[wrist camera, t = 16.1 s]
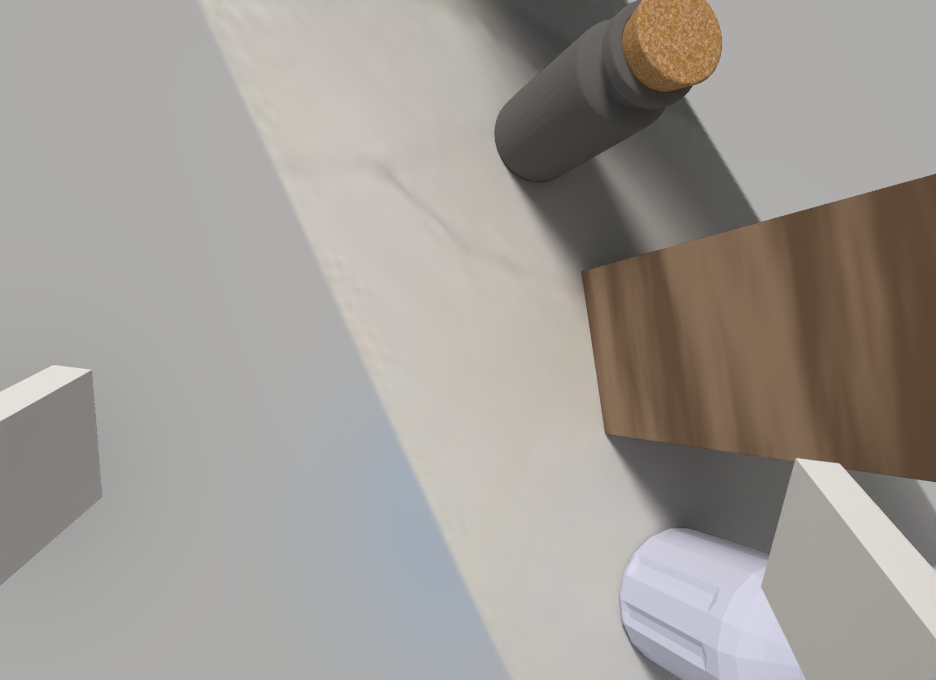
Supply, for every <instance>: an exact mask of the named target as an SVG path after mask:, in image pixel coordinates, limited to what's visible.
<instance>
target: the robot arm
mask: <svg viewBox="0 0 936 680" xmlns="http://www.w3.org/2000/svg"><path fill="white" fill-rule="evenodd" d="M101 497H102V489H101V476H100V464H99V452H98V440H97V427H96V415H95V403H94V392H93V379H92V370H88V369H80V368H72V367H64V366H56V365H53V366H51V367H49V368H47V369H45V370H43V371H41V372H39V373H37V374H35V375H33V376H31V377H29V378H27V379H25V380H23V381H21V382H19V383H17V384H15V385H13V386H11V387H9V388H7V389H5V390H3V391H1V392H0V585H1V584H2V583H4V582H5V581H6V580H7V579H8V578H9V577H10V576H11V575H13V574H14V573H15V572H16V571H17V570H19V569H20V568H21V567H22V566H23V565H24V564H25V563H27V562H28V561H29V560H30V559H31V558H32V557H34V556H35V555H36V554H37V553H38V552H39V551H40V550H41V549H43V548H44V547H45V546H46V545H47V544H48V543H49V542H51V541H52V540H53V539H54V538H55V537H57V536H58V535H59V534H60V533H61V532H62V531H63V530H65V529H66V528H67V527H68V526H69V525H70V524H71V523H73V522H74V521H75V520H76V519H77V518H78V517H80V516H81V515H82V514H83V513H84V512H85V511H86V510H88V509H89V508H90V507H91V506H92V505H93V504H95V502H97V501H98V500H99V499H100V498H101ZM761 588H762V590H763V592H764V594H765V596H766V598H767V600H768V602H769V604H770V607H771V609H772V611H773V613H774V615H775V617H776V619H777V621H778V623H779V625H780V627H781V629H782V631H783V633H784V635H785V637H786V639H787V641H788V644H789V646H790V648H791V650H792V652H793V654H794V656H795V658H796V660H797V662H798V664H799V666H800V668H801V670H802V672H803V674H804V676H805V679H806V680H936V571H935V570H934V569H933V568H932V567H931V566H930V564H929V563H928V562H927V561H926V560H925V559H924V558H923V557H922V556H921V554H920V553H919V552H918V551H917V550H916V549H915V548H914V547H913V545H912V544H911V543H910V542H909V541H908V540H907V539H906V538H905V536H904V535H903V534H902V533H901V532H900V531H899V530H898V529H897V527H896V526H895V525H894V524H893V523H892V522H891V521H890V520H889V518H888V517H887V516H886V515H885V514H884V513H883V512H882V511H881V510H880V508H879V507H878V506H877V505H876V504H875V503H874V502H873V501H872V499H871V498H870V497H869V496H868V495H867V494H866V493H865V492H864V490H863V489H862V488H861V487H860V486H859V485H858V484H857V483H856V481H855V480H854V479H853V478H852V477H851V476H850V475H849V474H848V472H847V471H846V470H845V469H844V468H843V467H842V466H841V465H840V464H839V463H831V462H823V461H815V460H807V459H799V458H796V459H795V463H794V466H793V470H792V474H791V477H790V481H789V485H788V488H787V492H786V496H785V500H784V503H783V507H782V511H781V514H780V518H779V522H778V525H777V529H776V533H775V536H774V540H773V544H772V547H771V551H770V555H769V559H768V562H767V566H766V570H765V573H764V577H763V581H762V584H761Z"/></svg>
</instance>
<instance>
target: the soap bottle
mask: <svg viewBox="0 0 936 680" xmlns="http://www.w3.org/2000/svg"><path fill="white" fill-rule="evenodd" d="M769 555H770V554H769V553H766V552H763V551H760V550H757V549H754V548H750V547H747V546H744V545H741V544H738V543H734V542H731V541H728V540H725V539H722V538H719V537H715V536H712V535H709V534H706V533H703V532H700V531H696V530H693V529H690V528H670V529H667V530H665V531H663V532H661V533H658V534H656V535H654V536H652V537H650V538H649V539H648V540H647V541H646V542H645V543H644V544H643V545H642V546H641V547H640V548H639V549H638V550H637V551H636V552H635V553H634V554H633V556H632V558H631V560H630V562H629V564H628V566H627V568H626V570H625V572H624V574H623V580H622V585H621V590H620V596H619V600H620V609H621V618H622V622H623V624H624V626H625V629H626V631H627V633H628V635H629V637H630V640H631V642H632V643H633V644H634V645H635V646H636V647H637V648H638V649H639V650H640V651H641V652H642V653H643V654H644V655H645V656H646V657H647V658H649V659H650V660H652V661H653V662H655V663H657V664H658V665H660V666H661V667H663V668H664V669H666V670H668V671H669V672H671V673H672V674H674V675H675V676H677V677H679V678H680V679H682V680H806V679H805V676H804V674H803V672H802V670H801V668H800V666H799V664H798V662H797V660H796V658H795V656H794V654H793V652H792V650H791V648H790V646H789V644H788V641H787V639H786V637H785V635H784V633H783V631H782V629H781V627H780V625H779V623H778V621H777V619H776V617H775V615H774V613H773V611H772V609H771V607H770V604H769V602H768V600H767V598H766V596H765V594H764V592H763V590H762V588H761V584H762V581H763V577H764V573H765V570H766V566H767V562H768V559H769Z"/></svg>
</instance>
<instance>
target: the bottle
mask: <svg viewBox="0 0 936 680" xmlns="http://www.w3.org/2000/svg"><path fill="white" fill-rule="evenodd" d="M721 51H722V37H721V31H720V26H719V23H718V21H717V18H716V16H715V14H714V12H713V10H712V9H711V7H710V5H709V4H708V3H707V2H706V1H705V0H637V1H635V2H632V3H630V4H628V5H627V6H625V7H624V8H623V9H622V10H620V11H619V12H618V13H617V14H616V15H615V16H614V17H613V18H612V19H608V20H603V21H601V22H599V23H597V24H595V25H594V26H592V27H591V28H590V29H588V30H587V31H586V32H585V33H583V34H582V35H581V36H580V37H579V38H578V39H577V40H575V41H574V42H573V43H572V44H571V45H570V46H569V47H568V48H566V49H565V50H564V51H563V52H562V53H561V54H560V55H559V56H557V57H556V58H555V59H554V60H553V61H552V62H551V63H550V64H549V65H548V66H546V67H545V68H544V69H543V70H542V71H541V72H540V73H539V74H538V75H537V76H535V77H534V78H533V79H532V80H531V81H530V82H529V83H528V84H527V85H526V86H524V87H523V88H522V89H521V90H520V91H519V92H518V93H517V94H516V95H515V96H514V97H513V98H512V99H510V100H509V101H508V102H507V103H506V105H505V106H504V107H503V108H502V110H501V111H500V113H499V115H498V117H497V120H496V125H495V142H496V145H497V149H498V152H499V154H500V156H501V158H502V160H503V161H504V162H505V164H506V165H507V167H509V168H510V169H511V170H512V171H513V172H514V173H515V174H517V175H518V176H520V177H522V178H524V179H527V180H530V181H536V182H542V181H548V180H551V179H554V178H556V177H558V176H560V175H562V174H564V173H565V172H567V171H569V170H571V169H573V168H575V167H577V166H578V165H580V164H582V163H584V162H586V161H587V160H589V159H591V158H593V157H594V156H596V155H598V154H600V153H602V152H603V151H605V150H607V149H609V148H610V147H612V146H614V145H616V144H617V143H619V142H621V141H623V140H624V139H626V138H628V137H630V136H631V135H633V134H635V133H637V132H638V131H640V130H642V129H643V128H645V127H647V126H648V125H650V124H652V123H653V122H654V121H655V120H656V119H658V117H659V116H660V115H661V114H662V112H663V111H664V109H665V107H667V106H669V105H671V104H673V103H675V102H676V101H678V100H680V99H681V98H682V97H683V96H685V95H686V94H687V93H688V92H689V90H690V89H691V88H692V86H693V85H696V84H698V83H701V82H702V81H704V80H706V79H707V78H708V77H709V76H710V75H711V74H712V73H713V72H714V70H715V69H716V67H717V65H718V63H719V60H720V56H721Z"/></svg>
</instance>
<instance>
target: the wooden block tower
mask: <svg viewBox="0 0 936 680" xmlns="http://www.w3.org/2000/svg"><path fill="white" fill-rule="evenodd" d="M582 278H583V285H584V292H585V298H586V305H587V312H588V319H589V326H590V333H591V339H592V346H593V353H594V360H595V367H596V373H597V380H598V387H599V394H600V401H601V408H602V414H603V421H604V428H605V434H610V435H617V436H624V437H631V438H637V439H644V440H651V441H658V442H665V443H672V444H678V445H685V446H692V447H699V448H706V449H713V450H720V451H726V452H733V453H740V454H747V455H754V456H761V457H768V458H774V459H781V460H788V461H795V459H796V458H799V459H807V460H815V461H823V462H831V463H839V464H840V465H841V466H842V467H843V468H844V469H850V470H857V471H864V472H870V473H877V474H884V475H891V476H898V477H905V478H912V479H918V480H926V481H932V482H936V174H934V175H930V176H926V177H923V178H919V179H915V180H912V181H908V182H905V183H901V184H897V185H894V186H890V187H887V188H883V189H879V190H876V191H872V192H868V193H865V194H861V195H857V196H854V197H850V198H847V199H843V200H840V201H836V202H832V203H828V204H825V205H821V206H818V207H814V208H810V209H807V210H803V211H799V212H796V213H792V214H788V215H785V216H781V217H778V218H774V219H770V220H767V221H763V222H759V223H756V224H752V225H748V226H745V227H741V228H738V229H734V230H730V231H727V232H723V233H719V234H716V235H712V236H709V237H705V238H701V239H698V240H694V241H690V242H687V243H683V244H680V245H676V246H672V247H669V248H665V249H661V250H658V251H654V252H650V253H647V254H643V255H640V256H636V257H632V258H629V259H625V260H621V261H618V262H614V263H611V264H607V265H603V266H600V267H596V268H592V269H589V270H585V271H582Z"/></svg>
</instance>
